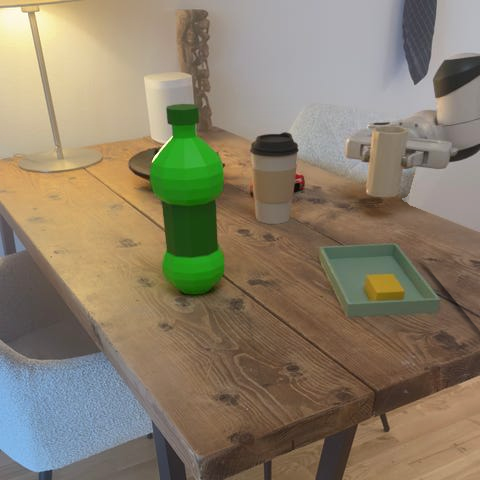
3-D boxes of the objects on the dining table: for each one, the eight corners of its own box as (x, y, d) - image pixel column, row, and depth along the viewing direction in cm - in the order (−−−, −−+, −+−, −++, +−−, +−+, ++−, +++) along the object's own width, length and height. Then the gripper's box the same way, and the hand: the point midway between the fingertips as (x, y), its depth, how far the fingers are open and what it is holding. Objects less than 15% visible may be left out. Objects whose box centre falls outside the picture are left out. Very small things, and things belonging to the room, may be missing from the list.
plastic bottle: (217, 305, 84) (208, 116, 68) (151, 297, 86) (128, 112, 70) (236, 277, 91) (232, 101, 75) (175, 271, 94) (159, 99, 78)
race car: (257, 200, 122) (257, 181, 119) (245, 193, 125) (244, 174, 123) (308, 190, 126) (309, 171, 124) (295, 184, 130) (295, 165, 128)
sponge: (364, 290, 85) (366, 274, 84) (390, 289, 85) (392, 273, 84) (374, 308, 81) (377, 292, 79) (402, 307, 81) (405, 291, 79)
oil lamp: (218, 164, 145) (216, 131, 140) (235, 201, 122) (234, 162, 117) (130, 170, 142) (126, 136, 137) (130, 207, 119) (125, 169, 114)
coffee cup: (269, 229, 108) (270, 143, 98) (241, 216, 113) (240, 134, 104) (304, 219, 112) (309, 135, 102) (276, 207, 118) (278, 127, 108)
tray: (318, 261, 95) (319, 246, 94) (393, 257, 96) (396, 242, 94) (346, 321, 79) (348, 304, 78) (436, 316, 80) (440, 299, 78)
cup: (393, 186, 112) (402, 125, 105) (403, 196, 107) (413, 132, 100) (362, 188, 111) (369, 126, 104) (370, 198, 106) (378, 134, 100)
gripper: (456, 166, 112) (437, 185, 102) (358, 155, 120) (333, 171, 111) (464, 131, 108) (445, 147, 99) (362, 122, 116) (336, 136, 107)
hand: (385, 159), depth 105 cm, fingers closed on cup, 6 cm apart
